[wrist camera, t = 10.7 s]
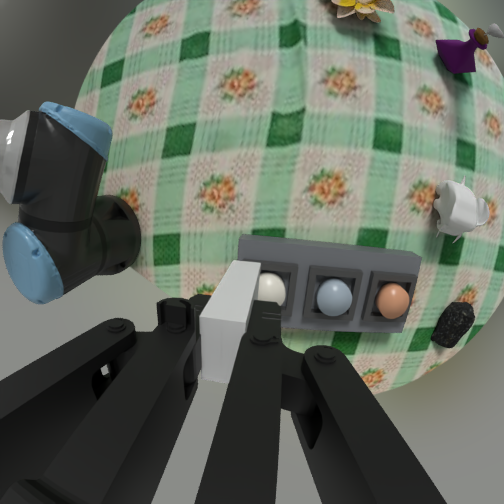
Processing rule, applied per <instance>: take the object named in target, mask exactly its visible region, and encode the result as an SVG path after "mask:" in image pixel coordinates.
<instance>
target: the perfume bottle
mask: <svg viewBox="0 0 504 504" xmlns="http://www.w3.org/2000/svg"><path fill="white" fill-rule="evenodd" d="M487 34H489V35H492V36H494V37H498V38H504V35H503V33H502V31H501V30H500V28H499V27H498V26H497V25H496V24H491V25H490V26H489V28H488V32H487V33H485V32H484V31H483V30H482V29H480V28H477V30H475V29H470V30H469V36H470V40H468V41H467V42H463V41H460V40H436V45H437V50H438V54H439V55H440V57H441V59H442V61H443V63H444V65H445V66H446V68H447V70H449V71H450V72H452V73H454V74H455V73H467V72H476V68H475V59H474V52H475V50H476V48H477V47H478V48H480V49H482V50H484V49H486V48H487V44H488V42H489V41H488V37H487Z"/></svg>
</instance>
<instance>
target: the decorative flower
mask: <svg viewBox="0 0 504 504" xmlns="http://www.w3.org/2000/svg"><path fill="white" fill-rule="evenodd" d="M331 1H332V2H333V3H335V4H337V5H338V10H337V18H341V17H346V16H348V15H351V14H353V13H355V12H356V15H357V17H358V18H359V19H360V20H363V19H364V18H365V16H367V17H368V18H369V19H370V20H371V21H373V22H381V20H380V18H379V16H378V15H377V13H376V11H375V10H379V11H384V12H389V13H394V6H393V4H392V2H391V1H390V0H331Z"/></svg>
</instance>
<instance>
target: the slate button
mask: <svg viewBox="0 0 504 504" xmlns="http://www.w3.org/2000/svg"><path fill="white" fill-rule="evenodd" d="M316 299H317V303H318V306H319V308H320V310H321V311H322V312H323V313H324V314H326V315H328V316H338V315H341V314H343V313H345V312H346V311H347V310H348V309H349V307H350V305H351V303H352V294H351V291H350V290H349V288H348V286H347V285H346V283H345V282H344V281H342V280H341V279H338V278H330V279H327V280H325V281H323V282H322V283H321V284H320V285H319V286H318V288H317V291H316Z"/></svg>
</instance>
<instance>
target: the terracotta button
mask: <svg viewBox="0 0 504 504" xmlns="http://www.w3.org/2000/svg"><path fill="white" fill-rule="evenodd" d="M375 303H376V306H377V308H378V309H379V311H380V312H381V313H382V315H383V316H384V317H386V318H388V319H394V318H397V317H399V316H401V315H402V314H403V313H404V312H405V311H406V309H407V307H408V305H409V295H408V293H407V292H406V291H405V290H404V289H403V288H402V287H401V286H400V285H399V284H397V283H388V284H385V285H384V286H382V287H381V288H380V289H379V291H378V292H377V294H376V298H375Z"/></svg>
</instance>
